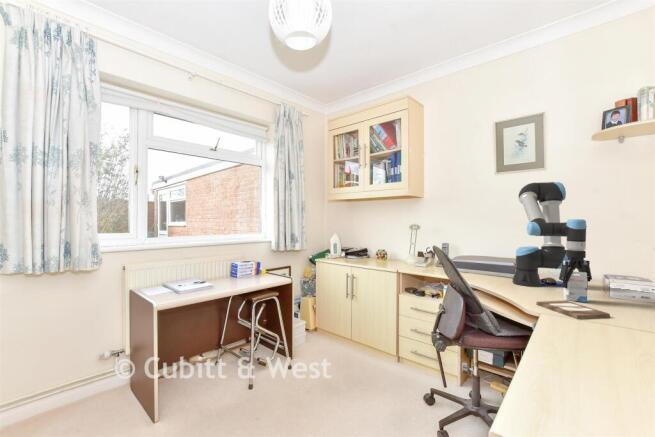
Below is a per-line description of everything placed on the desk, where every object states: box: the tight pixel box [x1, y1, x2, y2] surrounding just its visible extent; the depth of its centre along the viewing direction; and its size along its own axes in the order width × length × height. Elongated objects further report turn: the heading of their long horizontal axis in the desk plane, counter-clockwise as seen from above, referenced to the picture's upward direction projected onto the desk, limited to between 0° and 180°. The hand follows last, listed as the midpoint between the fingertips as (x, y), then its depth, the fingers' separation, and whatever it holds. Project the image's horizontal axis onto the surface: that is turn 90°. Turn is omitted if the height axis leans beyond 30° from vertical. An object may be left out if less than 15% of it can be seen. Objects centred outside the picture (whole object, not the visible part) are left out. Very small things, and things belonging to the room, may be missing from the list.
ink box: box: [563, 271, 588, 303], centre depth 151 cm, size 9×5×15 cm, turn 62°
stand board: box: [535, 299, 611, 320], centre depth 135 cm, size 20×16×2 cm
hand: (575, 294), depth 151 cm, fingers closed on ink box, 9 cm apart
